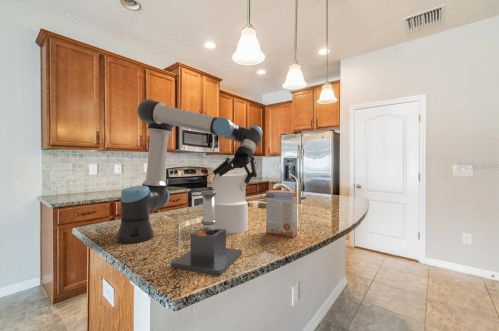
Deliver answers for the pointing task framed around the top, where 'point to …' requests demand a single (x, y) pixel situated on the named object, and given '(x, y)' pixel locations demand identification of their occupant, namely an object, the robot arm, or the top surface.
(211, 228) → the silver mushroom-headed rod
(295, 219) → the cracker box
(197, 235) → the square socket stand
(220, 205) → the cylinder
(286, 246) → the top surface
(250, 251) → the top surface
